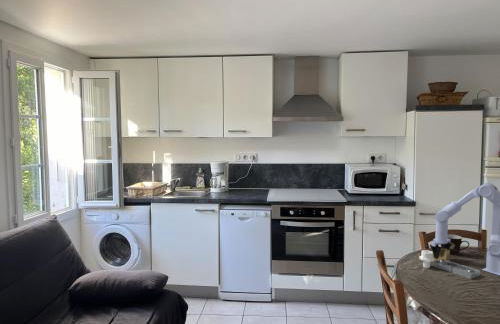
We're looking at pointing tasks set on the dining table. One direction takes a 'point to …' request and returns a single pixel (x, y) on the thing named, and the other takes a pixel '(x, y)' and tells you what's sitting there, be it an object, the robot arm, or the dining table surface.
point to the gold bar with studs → (443, 254)
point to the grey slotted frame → (457, 268)
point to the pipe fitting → (426, 258)
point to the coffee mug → (455, 244)
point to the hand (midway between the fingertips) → (440, 257)
